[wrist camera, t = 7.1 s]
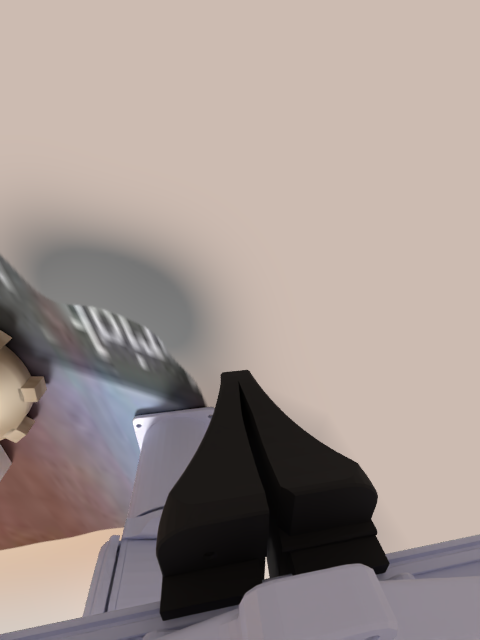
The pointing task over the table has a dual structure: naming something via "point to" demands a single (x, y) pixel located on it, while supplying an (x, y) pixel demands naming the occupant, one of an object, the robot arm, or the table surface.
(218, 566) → the robot arm
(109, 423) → the table surface
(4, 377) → the sprocket
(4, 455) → the index pointer
